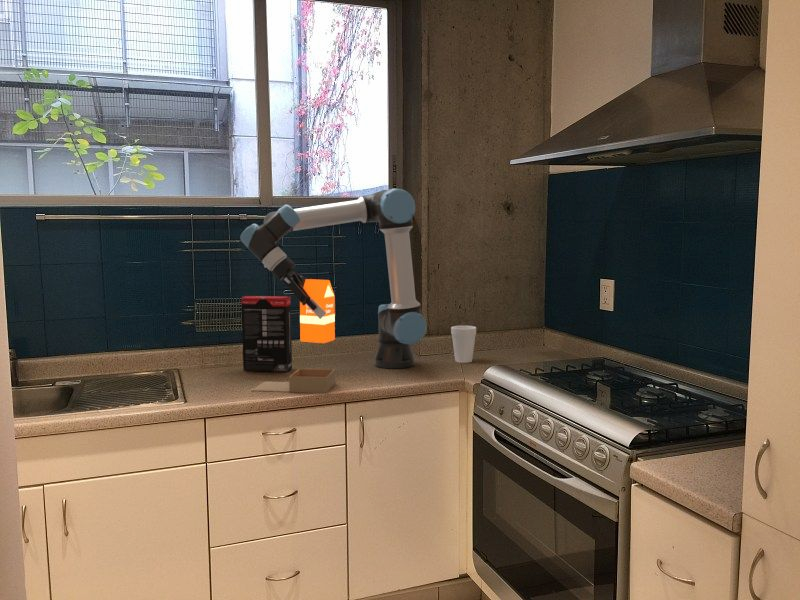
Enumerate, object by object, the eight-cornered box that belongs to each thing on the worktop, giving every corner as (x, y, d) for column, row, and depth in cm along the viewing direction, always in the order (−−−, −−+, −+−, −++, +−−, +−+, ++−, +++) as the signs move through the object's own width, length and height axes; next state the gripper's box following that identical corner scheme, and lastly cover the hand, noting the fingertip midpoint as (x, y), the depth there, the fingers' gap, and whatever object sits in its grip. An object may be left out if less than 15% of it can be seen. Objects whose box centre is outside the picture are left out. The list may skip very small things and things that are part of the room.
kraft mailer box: (335, 384, 230) (335, 369, 230) (327, 392, 219) (326, 377, 218) (264, 382, 233) (263, 368, 233) (252, 391, 222) (251, 376, 221)
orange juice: (324, 343, 221) (323, 281, 219) (299, 341, 225) (299, 279, 222) (335, 339, 229) (335, 279, 226) (311, 337, 232) (311, 278, 230)
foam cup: (480, 360, 266) (480, 326, 264) (469, 364, 258) (469, 330, 257) (458, 357, 271) (458, 324, 269) (446, 361, 263) (446, 328, 262)
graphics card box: (293, 368, 255) (291, 295, 252) (288, 372, 248) (286, 297, 245) (248, 368, 257) (245, 295, 254) (242, 372, 250) (239, 297, 247)
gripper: (282, 270, 237) (327, 317, 236) (260, 274, 216) (310, 326, 215) (296, 254, 236) (342, 302, 235) (276, 258, 214) (326, 310, 214)
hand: (327, 314), depth 225 cm, fingers closed on orange juice, 9 cm apart
